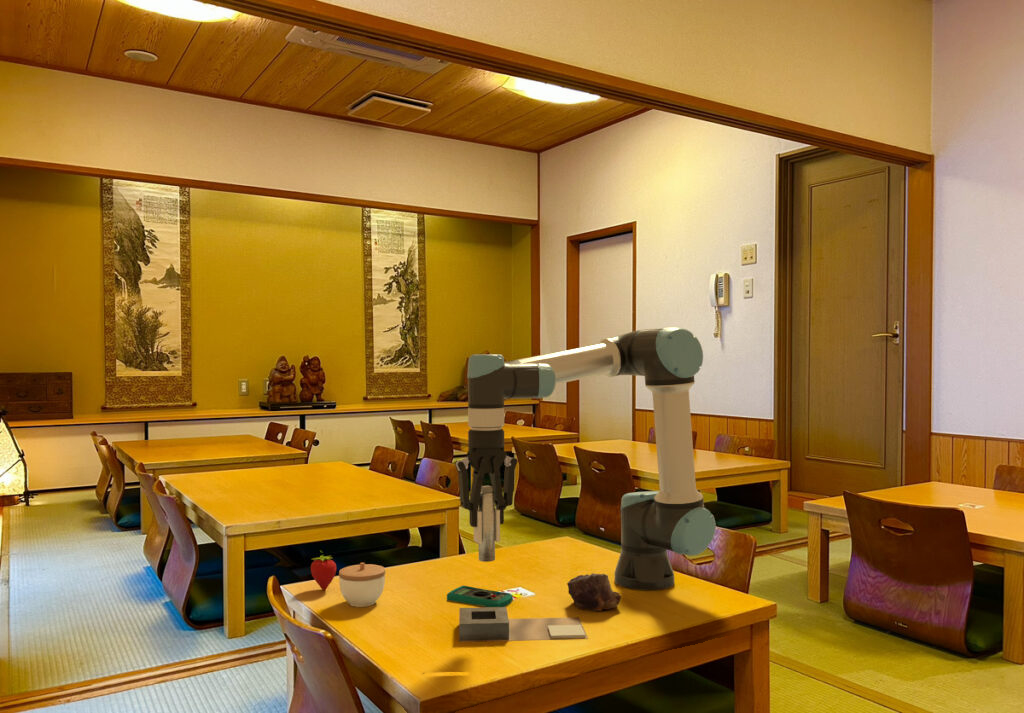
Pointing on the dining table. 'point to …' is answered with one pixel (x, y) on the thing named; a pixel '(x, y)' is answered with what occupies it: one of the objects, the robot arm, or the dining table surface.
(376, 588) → the lidded jar
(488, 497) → the silver metal post
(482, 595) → the digital multimeter
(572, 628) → the pad
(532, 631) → the board
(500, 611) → the block
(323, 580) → the strawberry
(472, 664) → the dining table surface
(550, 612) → the dining table surface
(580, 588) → the rock
